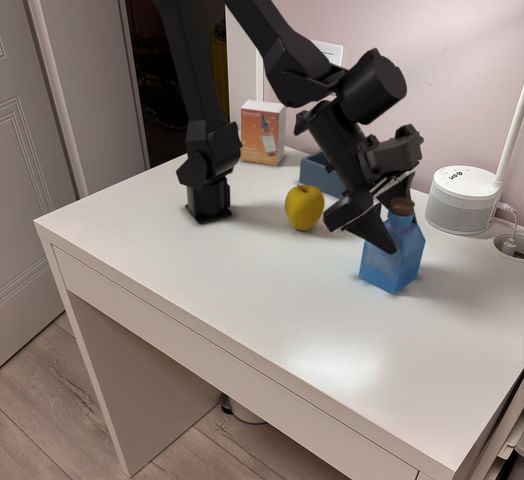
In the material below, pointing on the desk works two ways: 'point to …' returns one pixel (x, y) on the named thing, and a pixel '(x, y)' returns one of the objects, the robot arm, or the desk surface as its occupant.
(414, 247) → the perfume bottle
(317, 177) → the bin
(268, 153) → the small box
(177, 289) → the desk surface
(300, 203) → the apple
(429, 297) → the desk surface
